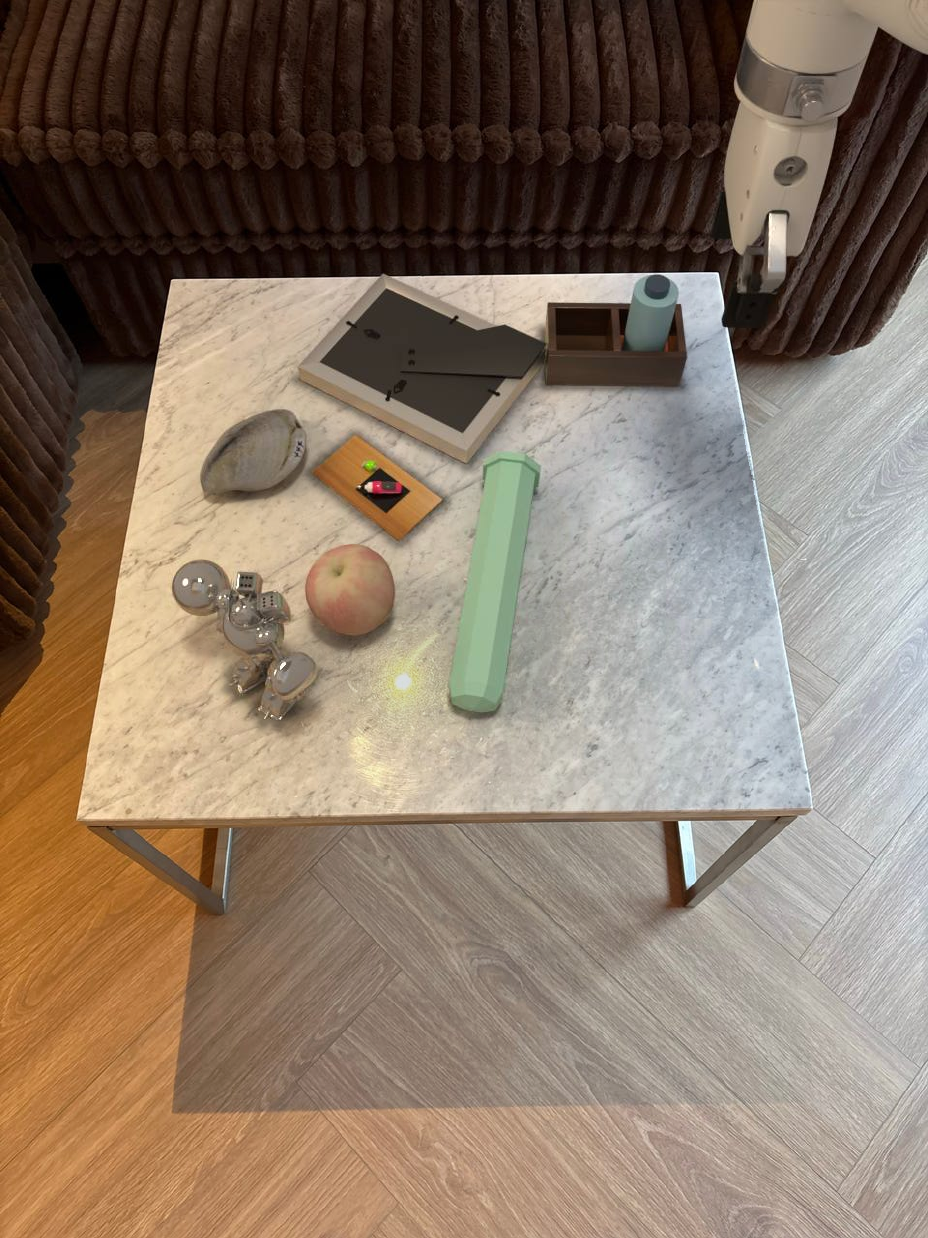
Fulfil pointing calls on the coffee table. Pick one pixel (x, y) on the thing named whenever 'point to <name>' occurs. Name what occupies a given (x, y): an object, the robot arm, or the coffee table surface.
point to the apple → (350, 589)
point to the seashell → (254, 453)
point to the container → (493, 582)
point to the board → (377, 487)
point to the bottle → (650, 314)
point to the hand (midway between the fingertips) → (735, 279)
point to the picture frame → (424, 366)
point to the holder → (607, 348)
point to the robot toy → (248, 631)
